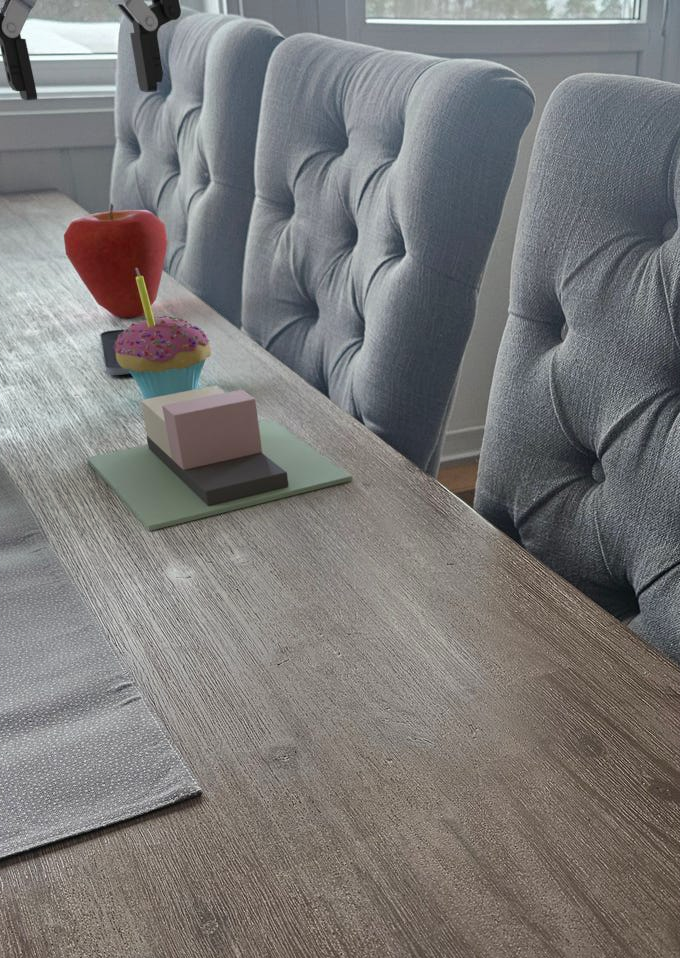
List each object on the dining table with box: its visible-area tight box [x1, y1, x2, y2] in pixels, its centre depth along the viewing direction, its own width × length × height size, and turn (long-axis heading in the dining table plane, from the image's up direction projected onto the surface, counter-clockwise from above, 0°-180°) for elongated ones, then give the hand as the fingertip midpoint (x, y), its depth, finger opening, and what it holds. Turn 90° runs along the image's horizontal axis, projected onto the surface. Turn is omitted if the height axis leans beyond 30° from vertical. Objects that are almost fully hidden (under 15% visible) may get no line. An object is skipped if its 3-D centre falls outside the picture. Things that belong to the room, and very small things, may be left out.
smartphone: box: [99, 328, 131, 376], centre depth 116 cm, size 8×1×15 cm
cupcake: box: [114, 268, 212, 399], centre depth 101 cm, size 9×8×12 cm
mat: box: [86, 417, 353, 532], centre depth 89 cm, size 16×16×1 cm
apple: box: [63, 202, 169, 318], centre depth 127 cm, size 11×11×12 cm
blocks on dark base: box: [140, 385, 289, 506], centre depth 87 cm, size 14×6×6 cm, turn 32°
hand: (90, 95), depth 80 cm, fingers open, 8 cm apart
